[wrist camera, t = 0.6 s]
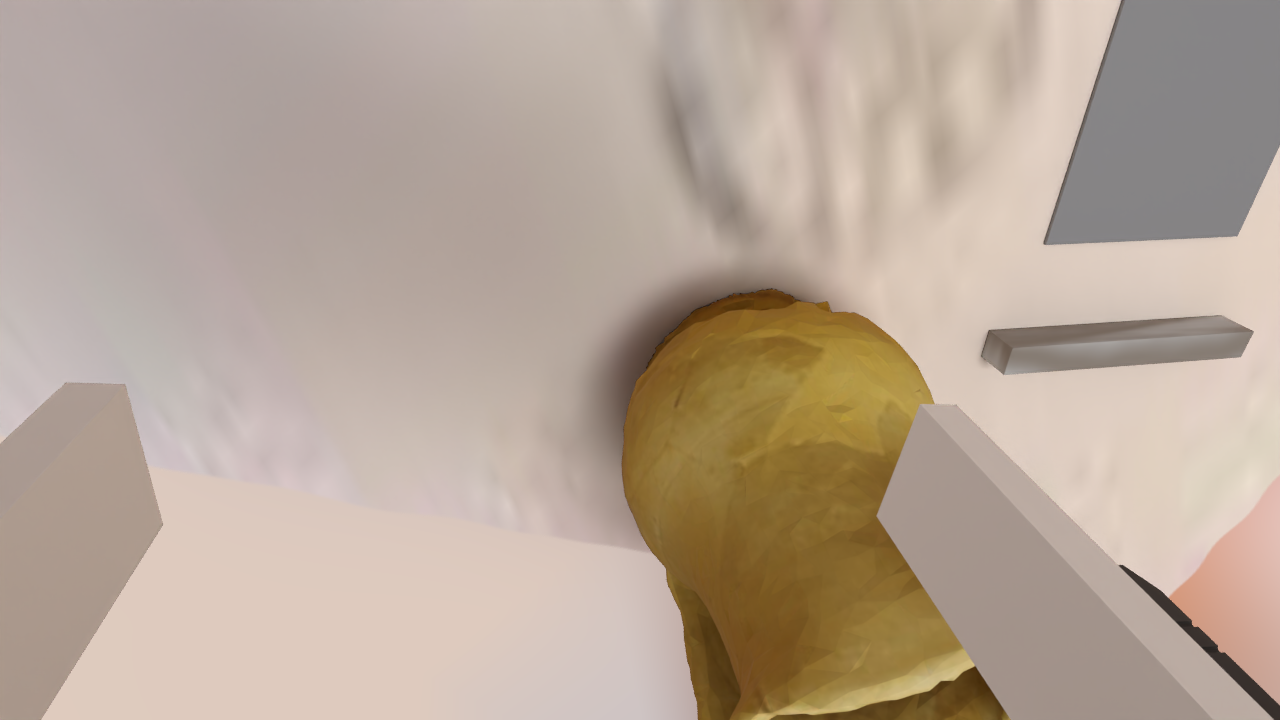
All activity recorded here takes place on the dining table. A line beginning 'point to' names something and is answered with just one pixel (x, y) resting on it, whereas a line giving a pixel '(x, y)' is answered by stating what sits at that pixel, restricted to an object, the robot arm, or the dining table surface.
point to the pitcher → (790, 517)
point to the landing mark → (1175, 124)
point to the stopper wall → (1114, 344)
